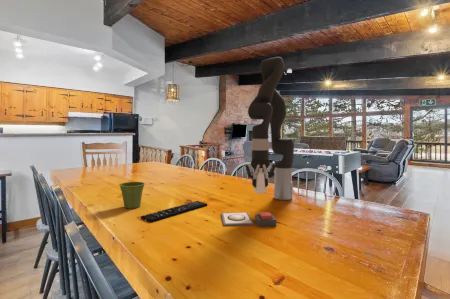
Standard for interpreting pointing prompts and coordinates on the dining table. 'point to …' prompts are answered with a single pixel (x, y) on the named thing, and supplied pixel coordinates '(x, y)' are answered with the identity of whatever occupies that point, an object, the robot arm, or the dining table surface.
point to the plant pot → (132, 194)
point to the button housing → (265, 221)
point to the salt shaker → (260, 182)
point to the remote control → (173, 211)
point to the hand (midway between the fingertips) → (260, 186)
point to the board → (236, 219)
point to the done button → (265, 215)
